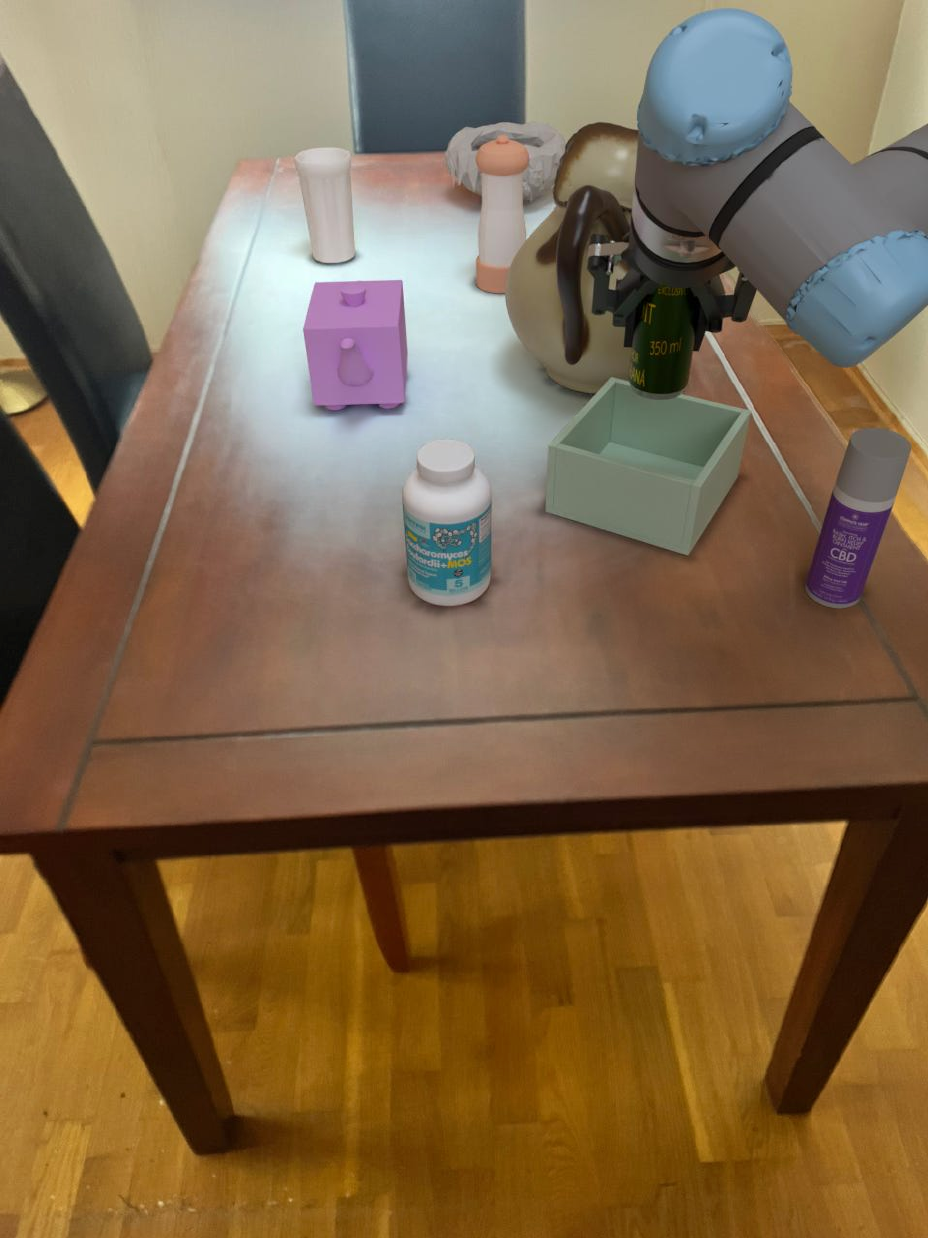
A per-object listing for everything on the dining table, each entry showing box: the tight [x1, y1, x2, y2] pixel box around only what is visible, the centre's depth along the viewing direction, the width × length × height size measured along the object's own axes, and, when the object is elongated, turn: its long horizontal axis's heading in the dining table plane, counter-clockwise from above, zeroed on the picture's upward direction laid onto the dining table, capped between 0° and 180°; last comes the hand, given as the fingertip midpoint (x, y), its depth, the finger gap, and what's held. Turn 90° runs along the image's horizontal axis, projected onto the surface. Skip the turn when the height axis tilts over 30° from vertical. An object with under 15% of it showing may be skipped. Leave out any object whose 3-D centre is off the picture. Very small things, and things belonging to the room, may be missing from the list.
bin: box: [545, 377, 752, 556], centre depth 90 cm, size 15×15×8 cm
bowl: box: [444, 121, 567, 203], centre depth 154 cm, size 21×20×10 cm
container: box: [804, 427, 912, 609], centre depth 76 cm, size 5×5×15 cm
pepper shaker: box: [475, 135, 530, 294], centre depth 125 cm, size 7×7×19 cm
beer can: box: [628, 285, 700, 400], centre depth 80 cm, size 5×5×12 cm
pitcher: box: [504, 121, 638, 395], centre depth 102 cm, size 22×24×25 cm
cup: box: [293, 146, 356, 264], centre depth 135 cm, size 8×8×14 cm
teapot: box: [302, 279, 409, 411], centre depth 104 cm, size 20×10×12 cm, turn 1°
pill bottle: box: [401, 438, 493, 607], centre depth 78 cm, size 8×7×14 cm
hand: (662, 334), depth 85 cm, fingers closed on beer can, 5 cm apart
